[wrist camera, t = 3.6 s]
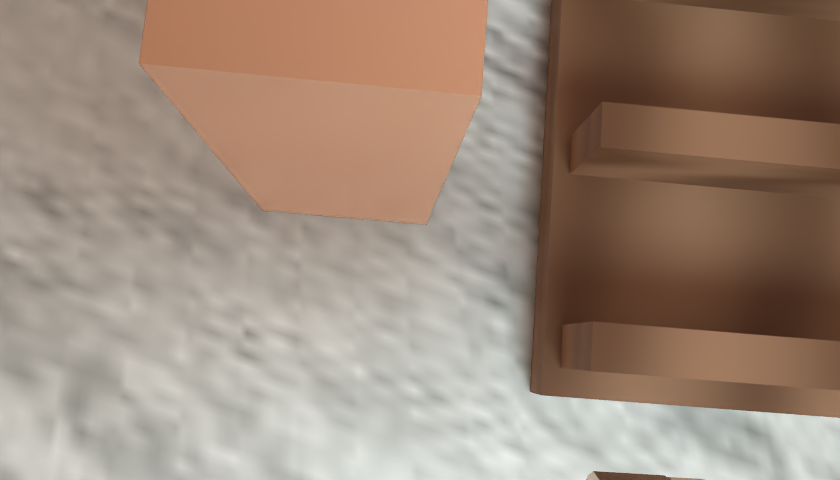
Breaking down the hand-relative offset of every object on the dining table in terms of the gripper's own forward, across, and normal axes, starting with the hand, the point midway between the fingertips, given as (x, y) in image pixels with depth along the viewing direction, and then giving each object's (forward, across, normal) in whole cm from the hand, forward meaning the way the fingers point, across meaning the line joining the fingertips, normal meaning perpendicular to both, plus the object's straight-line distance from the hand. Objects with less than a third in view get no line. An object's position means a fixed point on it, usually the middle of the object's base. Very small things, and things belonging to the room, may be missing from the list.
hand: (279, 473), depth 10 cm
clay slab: (+14, 0, +4) cm, 14 cm away
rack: (+14, -13, +3) cm, 19 cm away
